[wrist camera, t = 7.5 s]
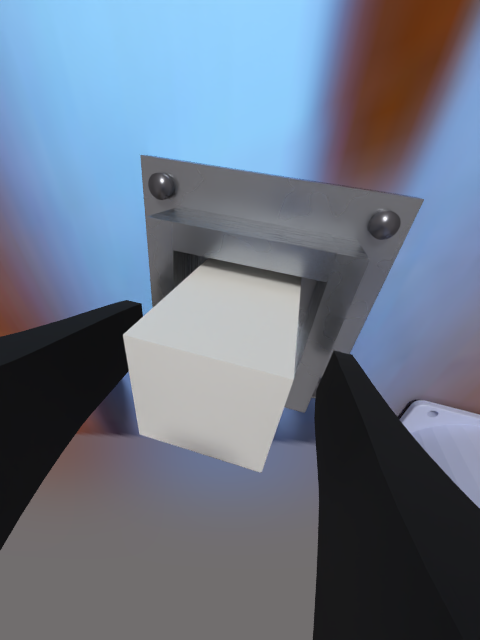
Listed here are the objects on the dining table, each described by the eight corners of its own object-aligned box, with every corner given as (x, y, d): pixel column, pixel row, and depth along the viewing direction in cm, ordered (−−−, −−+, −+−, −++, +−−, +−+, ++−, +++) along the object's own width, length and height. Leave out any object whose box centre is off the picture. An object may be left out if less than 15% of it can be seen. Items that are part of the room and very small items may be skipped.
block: (302, 268, 11) (293, 379, 5) (282, 338, 13) (261, 472, 7) (216, 250, 12) (123, 335, 6) (211, 321, 14) (139, 434, 8)
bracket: (416, 197, 9) (463, 210, 7) (325, 391, 15) (329, 443, 13) (150, 155, 11) (93, 151, 8) (162, 348, 17) (131, 385, 14)
